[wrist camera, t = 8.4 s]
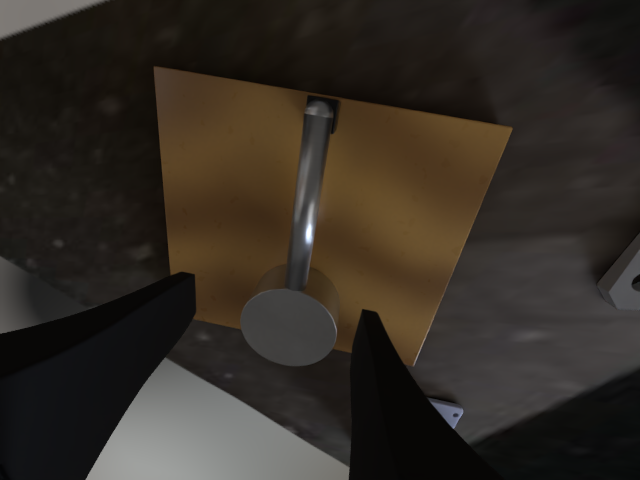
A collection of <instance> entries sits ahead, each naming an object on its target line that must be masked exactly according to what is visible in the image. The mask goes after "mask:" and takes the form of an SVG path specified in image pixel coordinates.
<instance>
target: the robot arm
mask: <svg viewBox="0 0 640 480" xmlns="http://www.w3.org/2000/svg"><path fill="white" fill-rule="evenodd" d="M195 314H196V287H195V274H192V273H187V272H182V271H181V272H178V273H176V274H173V275H171V276H169V277H166V278H164V279H162V280H160V281H157V282H155V283H153V284H151V285H148V286H146V287H144V288H142V289H139V290H137V291H135V292H133V293H130V294H128V295H125V296H123V297H120V298H118V299H115V300H113V301H110V302H108V303H106V304H103V305H100V306H98V307H95V308H92V309H89V310H86V311H83V312H81V313H77V314H74V315H71V316H68V317H65V318H62V319H57V320H54V321H50V322H47V323H43V324H39V325H36V326H32V327H28V328H24V329H20V330H15V331H11V332H7V333H2V334H0V480H85V479H86V478H87V476H88V474H89V472H90V470H91V469H92V467H93V465H94V463H95V462H96V460H97V458H98V457H99V455H100V453H101V451H102V450H103V448H104V446H105V445H106V443H107V441H108V440H109V438H110V436H111V434H112V433H113V431H114V430H115V428H116V427H117V425H118V423H119V421H120V420H121V418H122V416H123V415H124V413H125V412H126V410H127V409H128V407H129V406H130V404H131V403H132V401H133V400H134V398H135V397H136V395H137V394H138V392H139V390H140V389H141V388H142V386H143V384H144V383H145V382H146V381H147V379H148V378H149V377H150V376H151V374H152V373H153V372H154V370H155V369H156V368H157V367H158V365H159V364H160V363H161V362H162V360H163V359H164V358H165V357H166V355H167V354H168V353H169V352H170V350H171V349H172V348H173V347H174V345H175V344H176V343H177V341H178V340H179V339H180V338H181V336H182V335H183V334H184V332H185V331H186V329H187V327H188V326H189V324H190V322H191V321H192V319H193V317H194V315H195ZM350 382H351V418H352V438H351V455H350V470H349V471H350V472H349V480H505V479H504V478H503V477H502V476H500V475H499V474H498V473H497V472H496V471H495V470H494V469H493V468H492V467H491V466H490V465H489V464H488V463H487V462H485V461H484V460H483V459H482V458H481V457H480V456H479V455H478V454H477V453H476V452H475V451H474V450H473V449H472V448H471V447H470V446H469V445H468V444H467V443H466V442H465V441H464V440H463V439H462V438H461V437H460V436H459V434H458V433H457V432H456V431H455V430H454V427H455V425H456V424H457V422H458V420H459V418H460V417H461V415H462V413H463V408H462V406H461V405H459V404H455V403H450V402H446V401H441V400H437V399H432V398H428V397H426V396H425V394H424V393H423V392H422V390H421V389H420V387H419V386H418V385H417V383H416V382H415V380H414V379H413V377H412V376H411V374H410V373H409V371H408V369H407V368H406V366H405V365H404V363H403V361H402V360H401V358H400V356H399V354H398V353H397V351H396V349H395V347H394V345H393V343H392V342H391V340H390V338H389V336H388V334H387V332H386V330H385V327H384V325H383V323H382V321H381V319H380V316H379V314H378V313H377V312H376V311H371V310H366V309H362V311H361V315H360V319H359V322H358V326H357V330H356V333H355V337H354V341H353V344H352V353H351V365H350Z"/></svg>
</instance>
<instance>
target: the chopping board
mask: <svg viewBox="0 0 640 480" xmlns="http://www.w3.org/2000/svg"><path fill="white" fill-rule="evenodd" d="M154 79H155V91H156V104H157V116H158V128H159V140H160V152H161V164H162V176H163V189H164V201H165V213H166V225H167V237H168V249H169V261H170V274H171V275H173V274H176V273H178V272H181V271H182V272H187V273H192V274H195V287H196V314H195V315H194V317H193V319H195V320H200V321H205V322H209V323H214V324H219V325H223V326H228V327H233V328H237V329H241V323H240V319H241V313H242V310H243V308H244V306H245V305H246V303H247V301H248V299H249V298H250V296H251V294H252V293H253V291H254V289H255V287H256V286H257V284H258V282H259V281H260V279H261V278H262V276H263V275H264V274H265V273H266V272H268V271H269V270H271V269H273V268H275V267H277V266H280V265H284V264H287V255H288V247H289V238H290V230H291V221H292V213H293V204H294V196H295V187H296V179H297V171H298V162H299V154H300V145H301V137H302V128H303V120H304V112H305V109H306V102H307V96H308V95H312V96H318V97H323V98H329V99H335V100H339V101H341V106H340V112H339V118H338V124H337V130H336V132H335V133H334V134H331V135H330V141H329V147H328V153H327V160H326V166H325V172H324V179H323V185H322V191H321V197H320V204H319V210H318V216H317V223H316V229H315V235H314V241H313V248H312V254H311V260H310V267H312V268H314V269H316V270H318V271H320V272H321V273H323V274H324V275H325V276H326V277H328V278H329V279H330V281H331V282H332V283H333V284H334V286H335V288H336V290H337V292H338V295H339V299H340V309H339V318H338V328H337V337H336V342H335V345H334V347H333V349H335V350H340V351H344V352H349V353H352V344H353V341H354V337H355V333H356V330H357V326H358V322H359V319H360V315H361V311H362V309H366V310H371V311H376V312H377V313H378V314H379V316H380V319H381V321H382V323H383V325H384V327H385V330H386V332H387V334H388V336H389V338H390V340H391V342H392V343H393V345H394V347H395V349H396V351H397V353H398V354H399V356H400V358H401V360H402V361H403V363H404V364H405V365H409V366H414V364H415V362H416V360H417V357H418V355H419V352H420V350H421V348H422V345H423V343H424V340H425V338H426V336H427V333H428V331H429V328H430V326H431V324H432V321H433V319H434V316H435V314H436V312H437V309H438V307H439V304H440V302H441V300H442V297H443V295H444V292H445V290H446V288H447V285H448V283H449V280H450V278H451V276H452V273H453V271H454V268H455V266H456V264H457V261H458V259H459V256H460V254H461V252H462V249H463V247H464V244H465V242H466V240H467V237H468V235H469V232H470V230H471V228H472V225H473V223H474V220H475V218H476V216H477V213H478V211H479V208H480V206H481V204H482V201H483V199H484V196H485V194H486V192H487V189H488V187H489V184H490V182H491V180H492V177H493V175H494V172H495V170H496V168H497V165H498V163H499V160H500V158H501V156H502V153H503V151H504V148H505V146H506V144H507V141H508V139H509V136H510V134H511V132H512V129H513V127H510V126H504V125H498V124H493V123H487V122H481V121H475V120H469V119H463V118H457V117H452V116H446V115H440V114H434V113H428V112H422V111H417V110H411V109H405V108H399V107H393V106H387V105H381V104H376V103H370V102H364V101H358V100H352V99H346V98H341V97H335V96H329V95H323V94H317V93H311V92H305V91H300V90H294V89H288V88H282V87H276V86H270V85H264V84H259V83H253V82H247V81H241V80H235V79H229V78H224V77H218V76H212V75H206V74H200V73H194V72H188V71H183V70H177V69H171V68H165V67H159V66H154Z"/></svg>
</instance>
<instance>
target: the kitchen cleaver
mask: <svg viewBox="0 0 640 480" xmlns="http://www.w3.org/2000/svg"><path fill="white" fill-rule="evenodd" d="M639 274H640V233H639V234H638V235H637V237H636V238H635V239H634V240H633V241H632V242H631V244H630V245H629V246H628V247H627V248H626V250H625V251H624V252H623V253H622V254H621V256H620V257H619V258H618V259H617V260H616V262H615V263H614V264H613V265H612V266H611V268H610V269H609V270H608V271H607V272H606V274H605V275H604V276H603V277H602V278H601V279H600V281H599V282H598V283H597V286H598V288H599V290H600V292H601V294H602V296H603V298H604V300H605V301H606V302H608V303H609V304H610V305H612V306H613V307H615V308H616V309H618V310H640V282H638V283H636V284H633V285H631V284H632V281H633V279H634V278H635V277H636V276H637V275H639Z"/></svg>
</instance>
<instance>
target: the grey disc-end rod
mask: <svg viewBox="0 0 640 480" xmlns="http://www.w3.org/2000/svg"><path fill="white" fill-rule="evenodd" d="M340 106H341V101H339V100H335V99H329V98H323V97H318V96H312V95H308V96H307V102H306V109H305V112H304V120H303V128H302V137H301V145H300V154H299V162H298V171H297V179H296V187H295V196H294V204H293V213H292V221H291V230H290V238H289V247H288V255H287V264H284V265H280V266H277V267H275V268H273V269H271V270H269V271H268V272H266V273H265V274H264V275H263V276H262V278H261V279H260V281H259V282H258V284H257V286H256V287H255V289H254V291H253V293H252V294H251V296H250V298H249V299H248V301H247V303H246V305H245V306H244V308H243V310H242V313H241V319H240V323H241V330H242V333H243V335H244V337H245V339H246V341H247V342H248V344H249V345H250V346H251V347H252V348H253V349H254V350H255V351H256V352H257V353H258V354H260V355H261V356H263V357H264V358H266V359H268V360H270V361H272V362H275V363H278V364H282V365H287V366H305V365H310V364H313V363H316V362H318V361H320V360H322V359H323V358H324V357H326V356H327V355H328V354H329V353H330V351H331V350H332V349H333V347H334V345H335V342H336V337H337V328H338V318H339V309H340V299H339V295H338V292H337V290H336V288H335V286H334V284H333V283H332V282H331V281H330V279H329V278H328V277H326V276H325V275H324V274H323V273H321V272H320V271H318V270H316V269H314V268H312V267H310V260H311V254H312V248H313V241H314V235H315V229H316V223H317V216H318V210H319V204H320V197H321V191H322V185H323V179H324V172H325V166H326V160H327V153H328V147H329V141H330V135H331V134H334V133H335V132H336V130H337V124H338V118H339V112H340Z"/></svg>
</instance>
